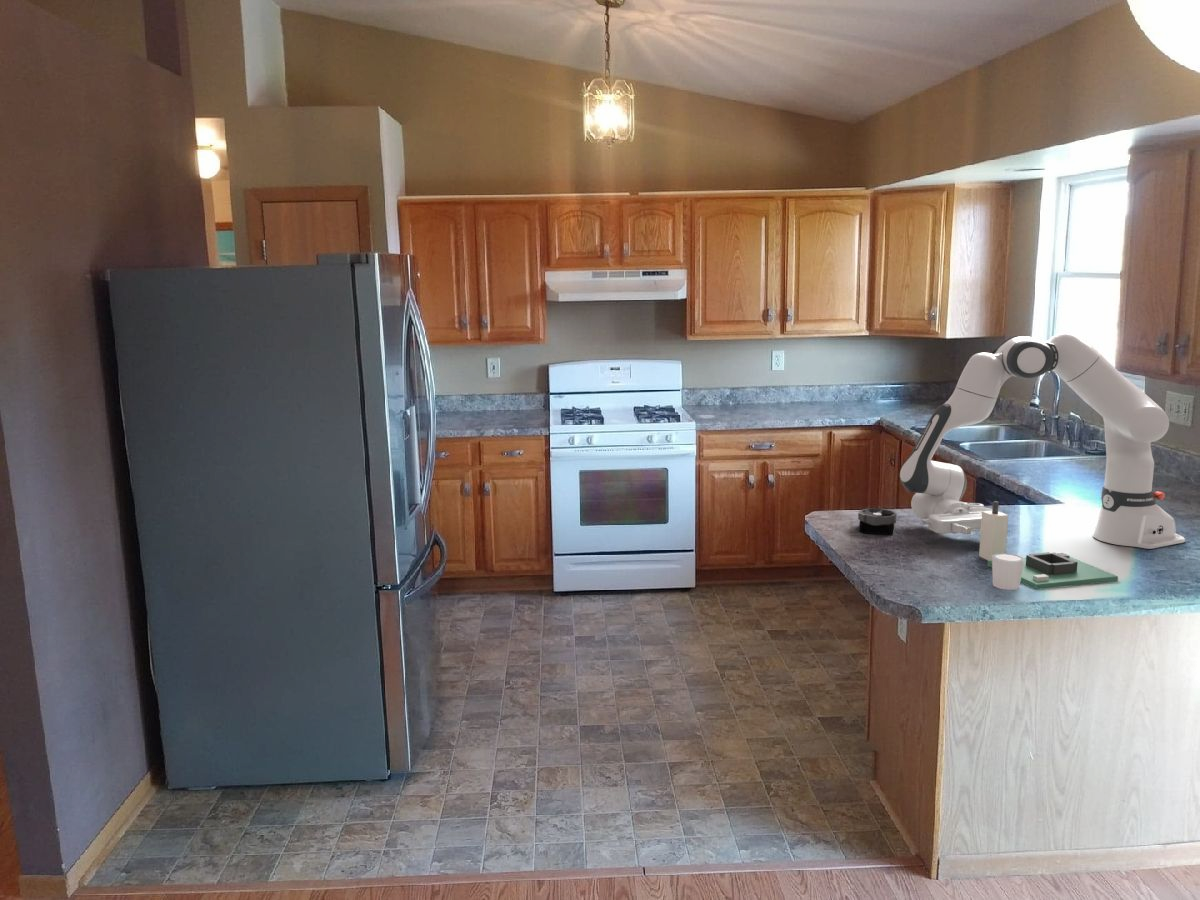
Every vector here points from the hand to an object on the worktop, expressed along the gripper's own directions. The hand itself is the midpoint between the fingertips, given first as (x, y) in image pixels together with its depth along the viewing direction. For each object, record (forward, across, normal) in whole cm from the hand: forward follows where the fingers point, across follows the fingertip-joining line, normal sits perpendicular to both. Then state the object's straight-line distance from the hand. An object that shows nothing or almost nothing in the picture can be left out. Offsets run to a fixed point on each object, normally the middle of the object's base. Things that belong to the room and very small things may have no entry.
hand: (984, 529), depth 229 cm
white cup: (+23, -10, +7) cm, 26 cm away
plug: (+4, 0, +6) cm, 8 cm away
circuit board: (+18, +6, +6) cm, 20 cm away
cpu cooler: (-28, -15, +7) cm, 32 cm away
